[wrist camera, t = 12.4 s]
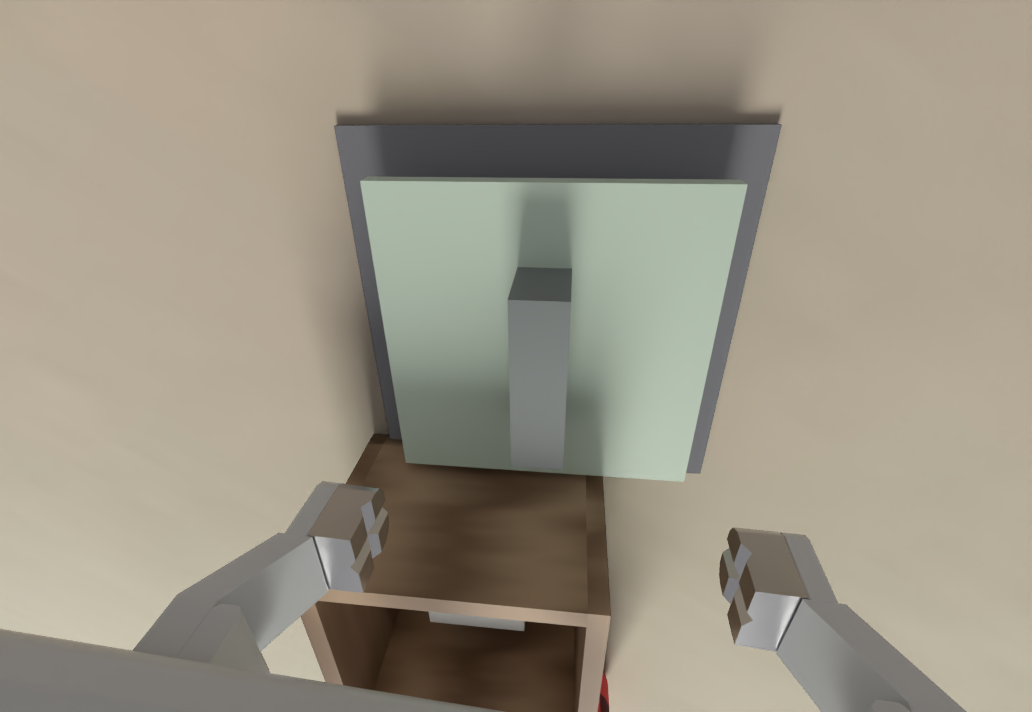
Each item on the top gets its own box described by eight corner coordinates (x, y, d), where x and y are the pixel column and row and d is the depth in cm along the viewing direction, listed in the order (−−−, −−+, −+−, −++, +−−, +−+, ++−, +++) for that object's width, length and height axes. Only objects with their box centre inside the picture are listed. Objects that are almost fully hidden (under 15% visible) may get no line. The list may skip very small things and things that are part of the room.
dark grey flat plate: (778, 124, 17) (781, 124, 17) (698, 469, 25) (700, 473, 25) (337, 124, 19) (334, 125, 19) (394, 449, 27) (392, 453, 27)
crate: (601, 448, 25) (610, 616, 18) (586, 595, 31) (589, 768, 24) (373, 433, 26) (288, 585, 19) (402, 578, 32) (346, 737, 25)
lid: (730, 172, 18) (780, 207, 13) (675, 449, 24) (697, 535, 20) (381, 169, 19) (321, 200, 15) (418, 433, 26) (384, 510, 21)
